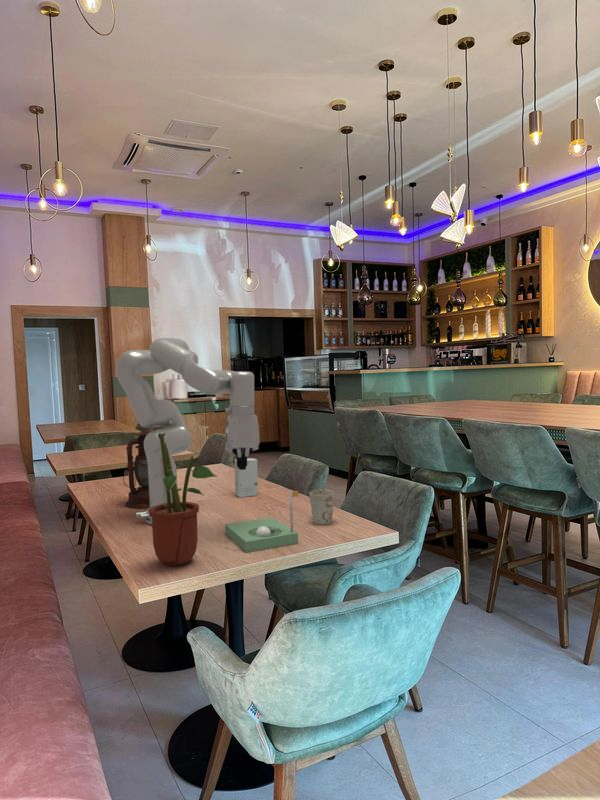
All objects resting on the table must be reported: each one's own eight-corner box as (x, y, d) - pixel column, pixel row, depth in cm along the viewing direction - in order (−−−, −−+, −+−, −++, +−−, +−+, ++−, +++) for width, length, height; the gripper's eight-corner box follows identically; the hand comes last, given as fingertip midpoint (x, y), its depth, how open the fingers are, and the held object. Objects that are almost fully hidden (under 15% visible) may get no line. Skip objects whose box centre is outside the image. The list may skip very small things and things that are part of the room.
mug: (317, 527, 177) (317, 496, 176) (299, 518, 188) (298, 489, 188) (340, 523, 181) (339, 493, 180) (321, 514, 192) (320, 486, 191)
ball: (256, 533, 160) (250, 530, 164) (263, 546, 161) (257, 543, 165) (269, 524, 162) (262, 521, 166) (276, 537, 163) (269, 534, 167)
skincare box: (238, 497, 220) (237, 461, 219) (234, 494, 226) (233, 458, 225) (258, 495, 223) (257, 459, 222) (254, 492, 229) (253, 456, 228)
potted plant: (155, 574, 140) (149, 437, 138) (146, 556, 154) (140, 431, 152) (222, 563, 147) (217, 432, 145) (207, 546, 161) (203, 427, 159)
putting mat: (246, 552, 155) (244, 499, 154) (225, 533, 173) (223, 486, 172) (302, 542, 162) (301, 492, 161) (276, 525, 180) (275, 480, 179)
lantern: (159, 494, 230) (156, 423, 228) (184, 501, 216) (181, 425, 214) (116, 503, 216) (112, 427, 215) (140, 511, 203) (136, 430, 201)
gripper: (222, 413, 166) (222, 473, 167) (268, 411, 172) (268, 469, 173) (215, 410, 173) (215, 468, 174) (260, 409, 179) (260, 465, 180)
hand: (241, 468), depth 174 cm, fingers closed
